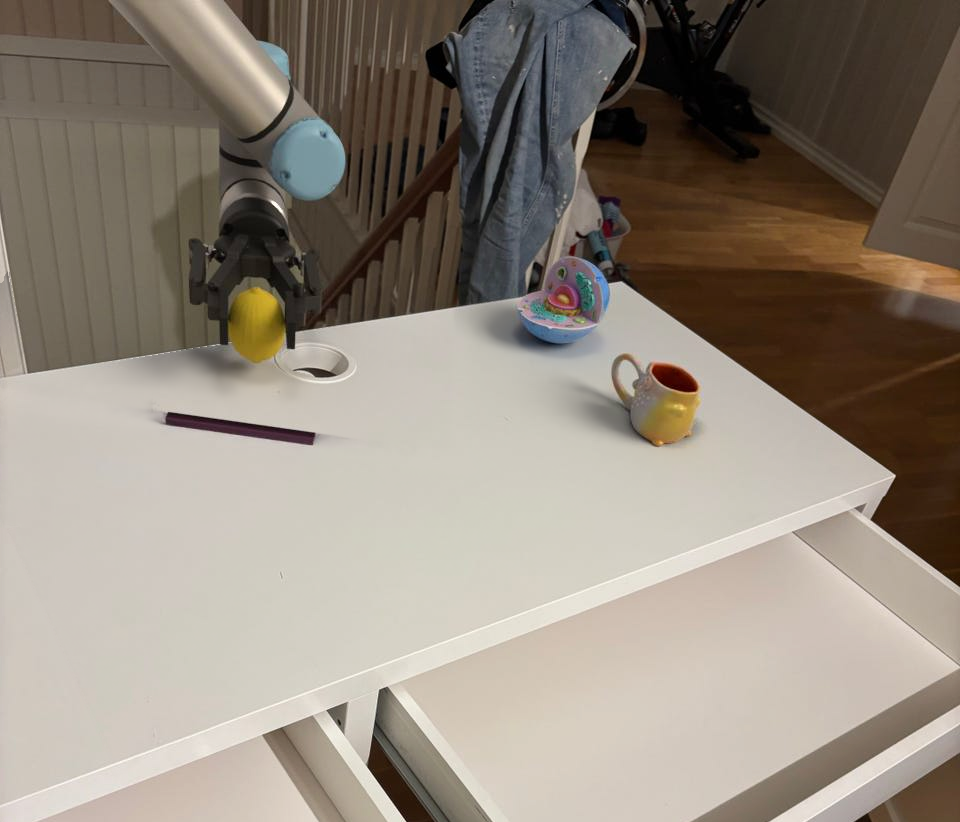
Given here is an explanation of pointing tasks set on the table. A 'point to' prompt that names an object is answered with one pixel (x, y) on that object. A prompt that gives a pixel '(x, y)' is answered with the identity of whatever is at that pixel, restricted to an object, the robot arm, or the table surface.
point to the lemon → (256, 325)
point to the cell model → (566, 302)
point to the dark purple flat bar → (239, 428)
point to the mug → (659, 399)
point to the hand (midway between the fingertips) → (257, 333)
